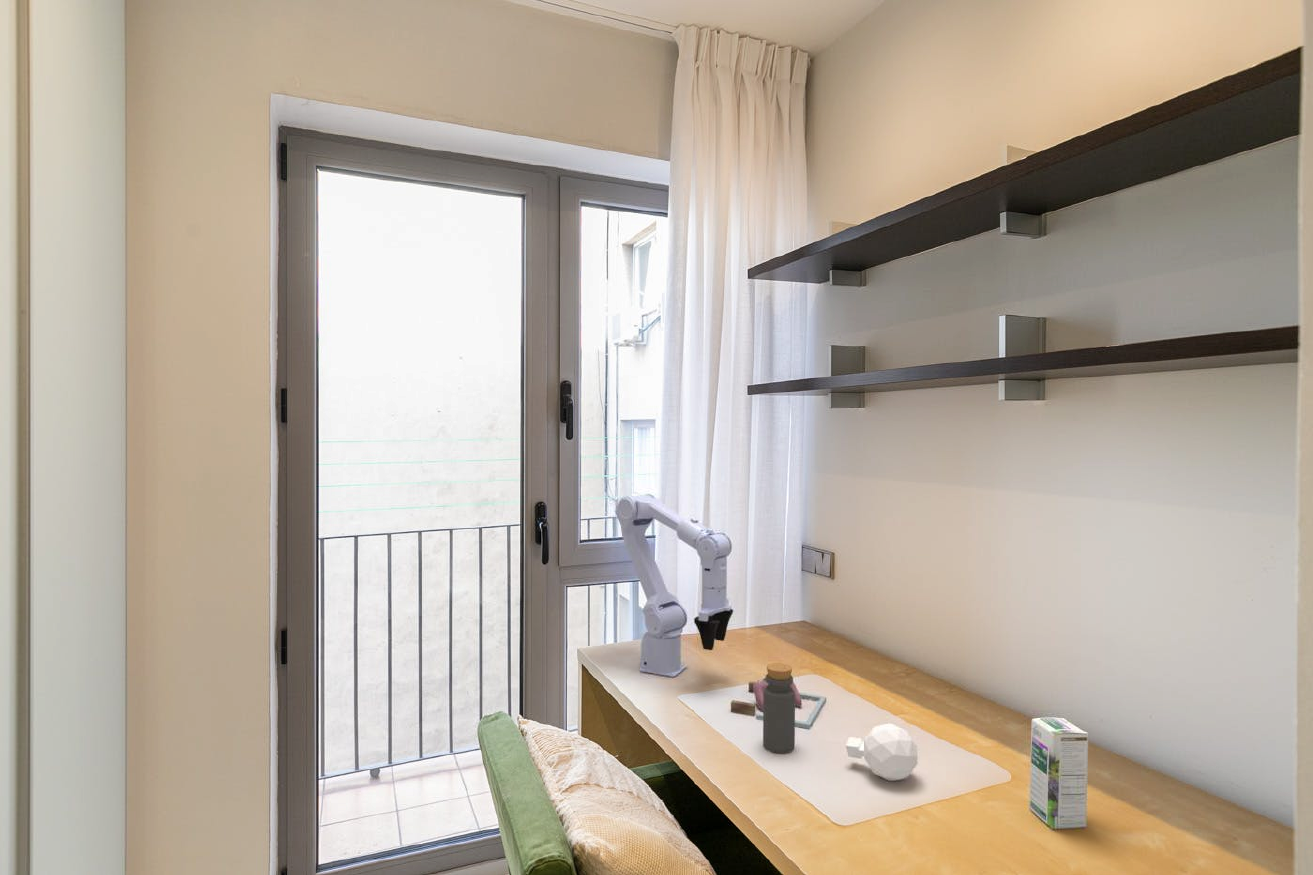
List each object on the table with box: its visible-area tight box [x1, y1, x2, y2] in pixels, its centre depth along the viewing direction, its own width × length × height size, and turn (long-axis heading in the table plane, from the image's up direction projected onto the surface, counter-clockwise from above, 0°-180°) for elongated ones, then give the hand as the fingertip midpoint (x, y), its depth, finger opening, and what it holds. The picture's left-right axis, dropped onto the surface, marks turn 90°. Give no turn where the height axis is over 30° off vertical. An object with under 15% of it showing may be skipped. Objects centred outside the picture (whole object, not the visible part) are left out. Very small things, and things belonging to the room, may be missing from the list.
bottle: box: [762, 662, 796, 754], centre depth 130 cm, size 6×6×15 cm
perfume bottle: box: [845, 722, 919, 782], centre depth 120 cm, size 9×9×12 cm
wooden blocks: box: [730, 681, 757, 716], centre depth 151 cm, size 5×13×2 cm, turn 155°
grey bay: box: [755, 692, 827, 730], centre depth 147 cm, size 11×16×1 cm
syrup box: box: [1029, 716, 1089, 830], centre depth 106 cm, size 6×6×14 cm
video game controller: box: [752, 677, 802, 712], centre depth 150 cm, size 10×5×7 cm, turn 105°
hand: (713, 644), depth 161 cm, fingers open, 7 cm apart
